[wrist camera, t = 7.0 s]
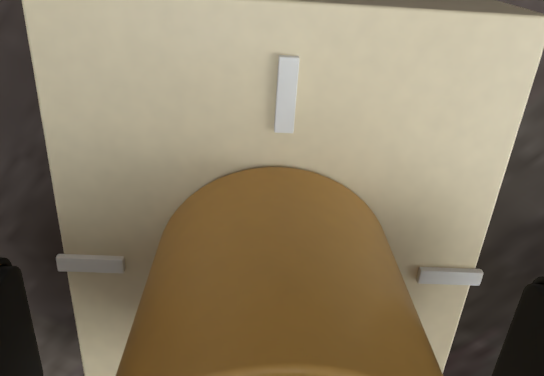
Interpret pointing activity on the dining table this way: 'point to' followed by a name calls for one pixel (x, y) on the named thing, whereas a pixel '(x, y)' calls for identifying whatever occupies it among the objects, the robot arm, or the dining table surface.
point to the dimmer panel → (276, 129)
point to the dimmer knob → (276, 286)
